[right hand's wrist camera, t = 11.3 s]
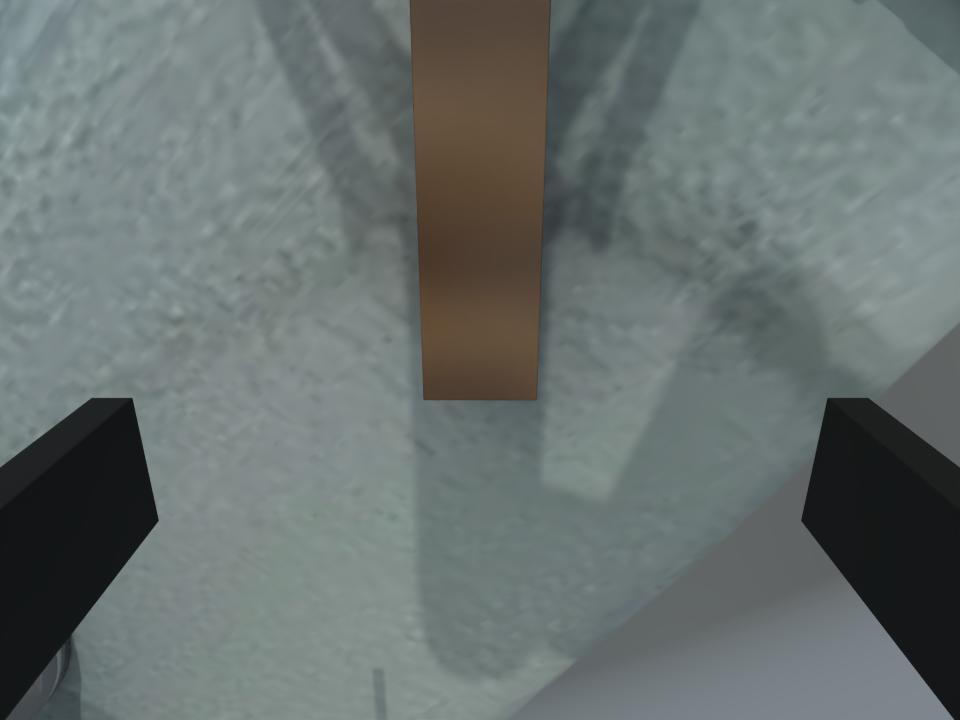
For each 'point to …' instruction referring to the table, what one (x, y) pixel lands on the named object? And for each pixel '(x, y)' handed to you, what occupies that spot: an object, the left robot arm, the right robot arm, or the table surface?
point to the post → (480, 192)
